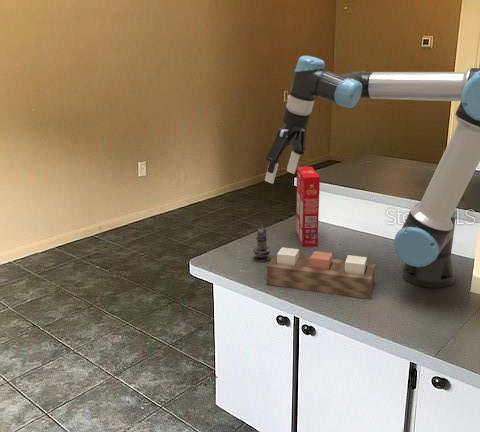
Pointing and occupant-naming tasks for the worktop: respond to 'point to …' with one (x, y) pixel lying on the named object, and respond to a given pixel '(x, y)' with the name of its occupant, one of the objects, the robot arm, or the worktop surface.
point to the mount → (321, 277)
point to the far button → (288, 256)
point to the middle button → (321, 260)
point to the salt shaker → (261, 246)
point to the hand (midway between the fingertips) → (280, 177)
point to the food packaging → (307, 206)
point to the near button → (355, 264)
